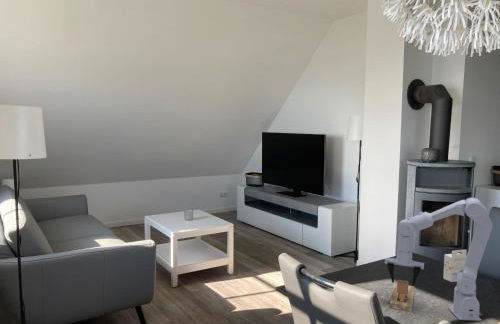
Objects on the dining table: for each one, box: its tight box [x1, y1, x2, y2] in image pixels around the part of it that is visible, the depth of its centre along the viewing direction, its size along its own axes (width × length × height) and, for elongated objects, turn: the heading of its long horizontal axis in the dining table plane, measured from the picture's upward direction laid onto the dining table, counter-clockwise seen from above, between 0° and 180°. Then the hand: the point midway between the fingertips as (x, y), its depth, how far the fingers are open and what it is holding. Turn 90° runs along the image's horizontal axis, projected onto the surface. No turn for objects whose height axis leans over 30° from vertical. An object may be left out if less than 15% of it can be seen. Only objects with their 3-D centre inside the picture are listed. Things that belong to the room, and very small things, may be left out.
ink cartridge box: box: [442, 249, 468, 283], centre depth 189 cm, size 9×5×15 cm, turn 105°
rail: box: [389, 282, 415, 312], centre depth 167 cm, size 8×22×2 cm, turn 156°
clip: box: [396, 279, 410, 302], centre depth 163 cm, size 4×7×8 cm, turn 156°
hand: (403, 283), depth 163 cm, fingers open, 7 cm apart
